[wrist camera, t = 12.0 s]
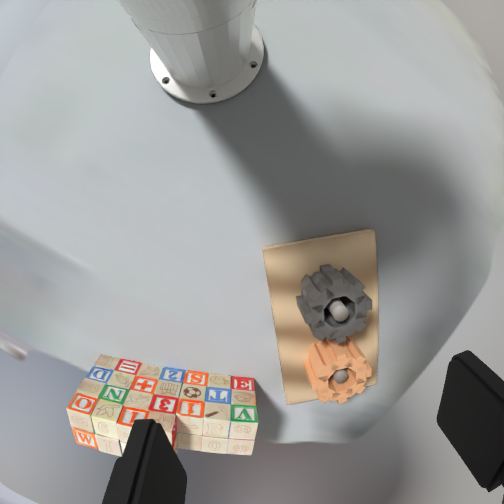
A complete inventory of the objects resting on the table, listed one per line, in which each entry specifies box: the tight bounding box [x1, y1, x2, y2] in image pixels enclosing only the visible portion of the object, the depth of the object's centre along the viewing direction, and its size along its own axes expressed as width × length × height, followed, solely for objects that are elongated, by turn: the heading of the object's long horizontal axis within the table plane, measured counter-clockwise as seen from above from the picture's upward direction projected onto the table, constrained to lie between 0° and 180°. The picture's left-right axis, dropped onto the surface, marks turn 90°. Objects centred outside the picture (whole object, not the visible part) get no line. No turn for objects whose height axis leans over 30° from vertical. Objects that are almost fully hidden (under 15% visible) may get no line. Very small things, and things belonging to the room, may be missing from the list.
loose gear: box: [303, 336, 372, 404], centre depth 36 cm, size 7×7×5 cm
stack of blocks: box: [67, 354, 258, 456], centre depth 34 cm, size 21×6×12 cm, turn 82°
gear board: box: [262, 229, 378, 405], centre depth 36 cm, size 22×13×7 cm, turn 9°
